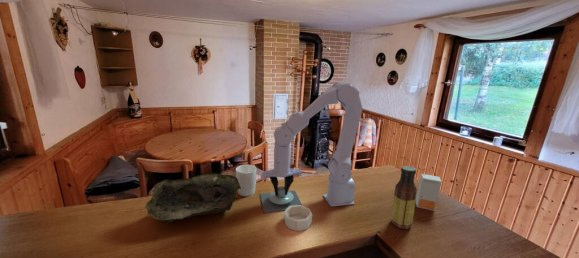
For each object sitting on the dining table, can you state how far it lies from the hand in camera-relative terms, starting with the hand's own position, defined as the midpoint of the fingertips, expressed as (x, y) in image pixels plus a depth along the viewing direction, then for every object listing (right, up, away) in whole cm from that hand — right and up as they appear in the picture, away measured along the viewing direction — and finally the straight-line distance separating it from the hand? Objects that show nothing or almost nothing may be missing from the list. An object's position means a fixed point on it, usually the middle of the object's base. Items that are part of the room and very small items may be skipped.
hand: (281, 194), depth 87 cm
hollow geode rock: (-27, -5, -9) cm, 29 cm away
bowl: (+6, -6, -11) cm, 14 cm away
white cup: (-14, -1, +6) cm, 15 cm away
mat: (0, -3, +1) cm, 3 cm away
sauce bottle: (+40, -7, -10) cm, 41 cm away
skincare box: (+53, -5, +1) cm, 54 cm away
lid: (0, -1, 0) cm, 1 cm away
